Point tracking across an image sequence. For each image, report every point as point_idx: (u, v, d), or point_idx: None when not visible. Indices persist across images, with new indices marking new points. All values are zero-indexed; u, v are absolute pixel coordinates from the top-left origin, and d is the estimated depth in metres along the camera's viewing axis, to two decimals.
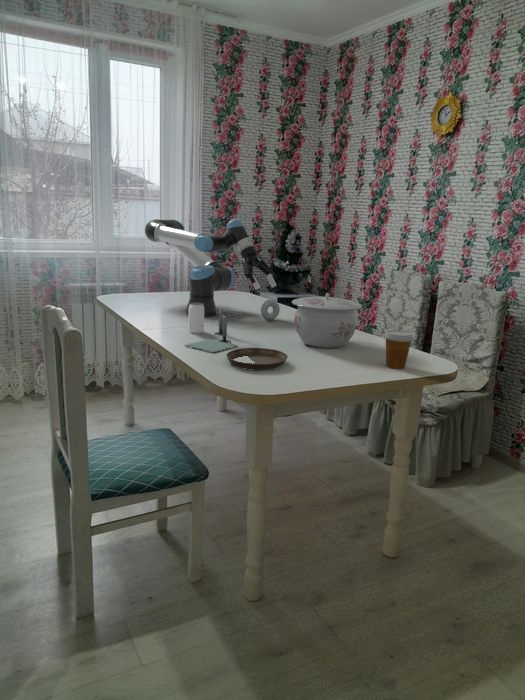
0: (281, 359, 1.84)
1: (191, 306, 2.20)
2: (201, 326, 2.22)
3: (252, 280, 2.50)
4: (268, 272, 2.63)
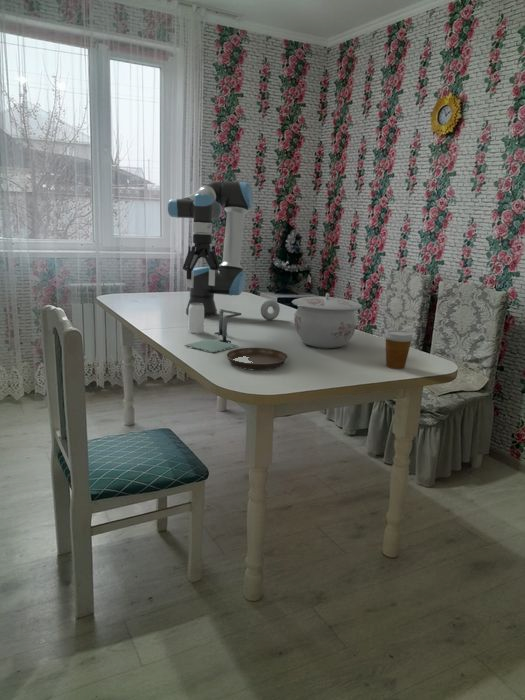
0: (281, 359, 1.84)
1: (191, 306, 2.20)
2: (201, 326, 2.22)
3: (188, 276, 2.13)
4: (213, 267, 2.24)
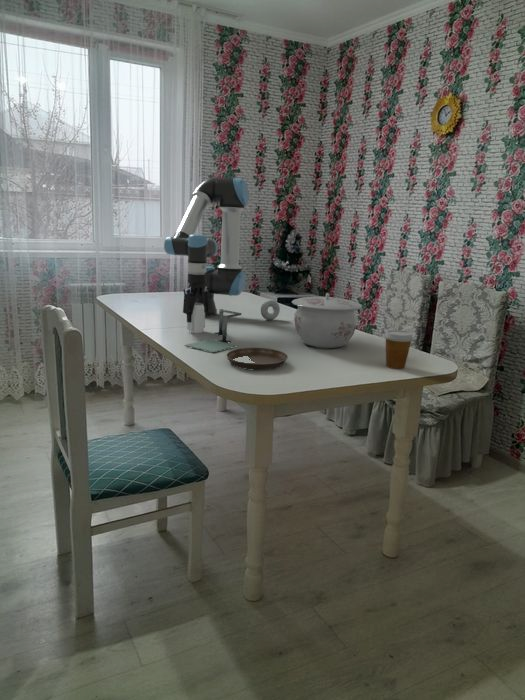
0: (281, 359, 1.84)
1: None
2: (201, 326, 2.22)
3: (188, 320, 2.19)
4: None
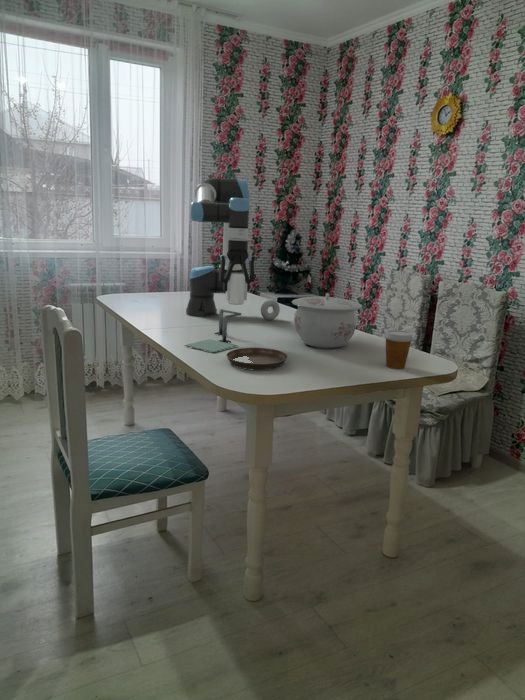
0: (281, 359, 1.84)
1: None
2: (237, 297, 2.07)
3: (224, 288, 2.07)
4: (246, 280, 2.09)
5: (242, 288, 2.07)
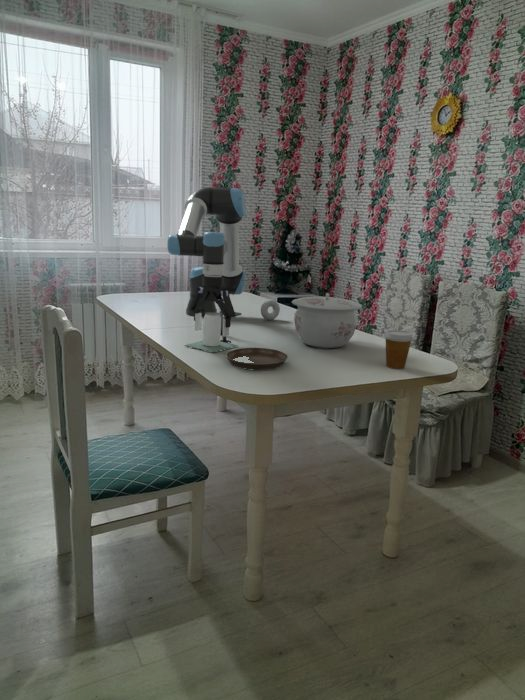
0: (281, 359, 1.84)
1: None
2: (205, 338, 1.98)
3: None
4: None
5: (210, 330, 1.97)
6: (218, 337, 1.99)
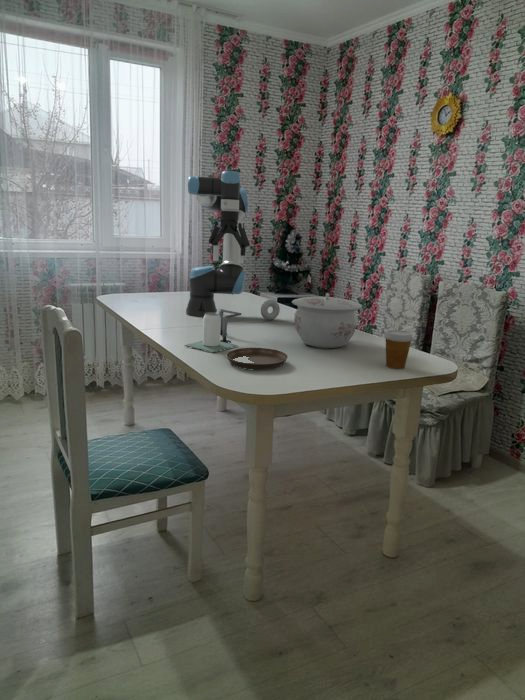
0: (281, 359, 1.84)
1: None
2: (205, 338, 1.98)
3: None
4: (240, 245, 2.22)
5: (210, 330, 1.97)
6: (218, 337, 1.99)
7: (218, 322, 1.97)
